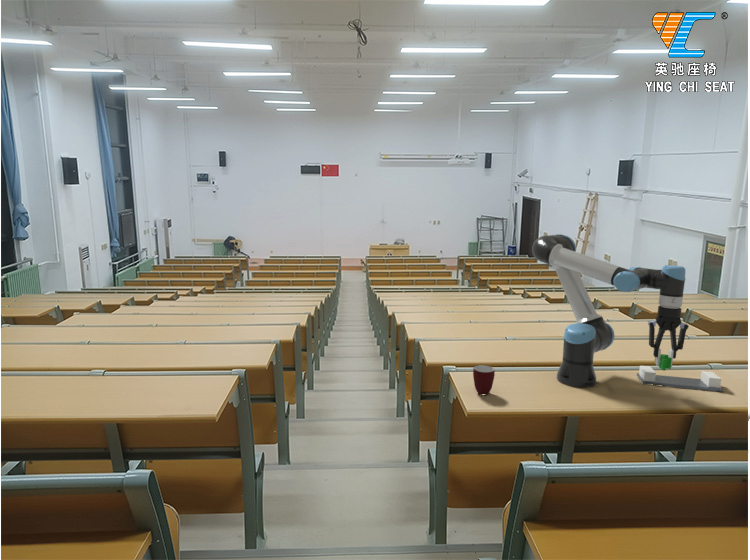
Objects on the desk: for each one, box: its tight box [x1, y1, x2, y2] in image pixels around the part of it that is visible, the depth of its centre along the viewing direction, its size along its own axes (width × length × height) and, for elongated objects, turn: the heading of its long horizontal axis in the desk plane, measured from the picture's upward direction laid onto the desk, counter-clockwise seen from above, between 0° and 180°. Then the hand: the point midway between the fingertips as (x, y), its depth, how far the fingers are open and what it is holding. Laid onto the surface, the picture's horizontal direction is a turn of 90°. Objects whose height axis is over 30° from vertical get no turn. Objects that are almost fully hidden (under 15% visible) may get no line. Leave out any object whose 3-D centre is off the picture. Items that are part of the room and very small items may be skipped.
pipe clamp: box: [654, 353, 672, 372], centre depth 181 cm, size 10×4×4 cm, turn 163°
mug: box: [472, 364, 496, 395], centre depth 183 cm, size 11×8×10 cm
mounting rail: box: [636, 365, 723, 393], centre depth 193 cm, size 28×10×5 cm, turn 74°
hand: (663, 365), depth 181 cm, fingers closed on pipe clamp, 3 cm apart
